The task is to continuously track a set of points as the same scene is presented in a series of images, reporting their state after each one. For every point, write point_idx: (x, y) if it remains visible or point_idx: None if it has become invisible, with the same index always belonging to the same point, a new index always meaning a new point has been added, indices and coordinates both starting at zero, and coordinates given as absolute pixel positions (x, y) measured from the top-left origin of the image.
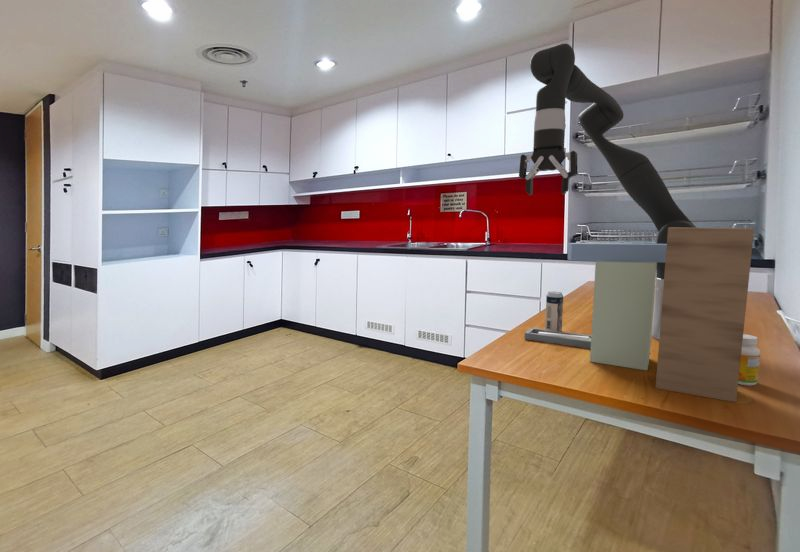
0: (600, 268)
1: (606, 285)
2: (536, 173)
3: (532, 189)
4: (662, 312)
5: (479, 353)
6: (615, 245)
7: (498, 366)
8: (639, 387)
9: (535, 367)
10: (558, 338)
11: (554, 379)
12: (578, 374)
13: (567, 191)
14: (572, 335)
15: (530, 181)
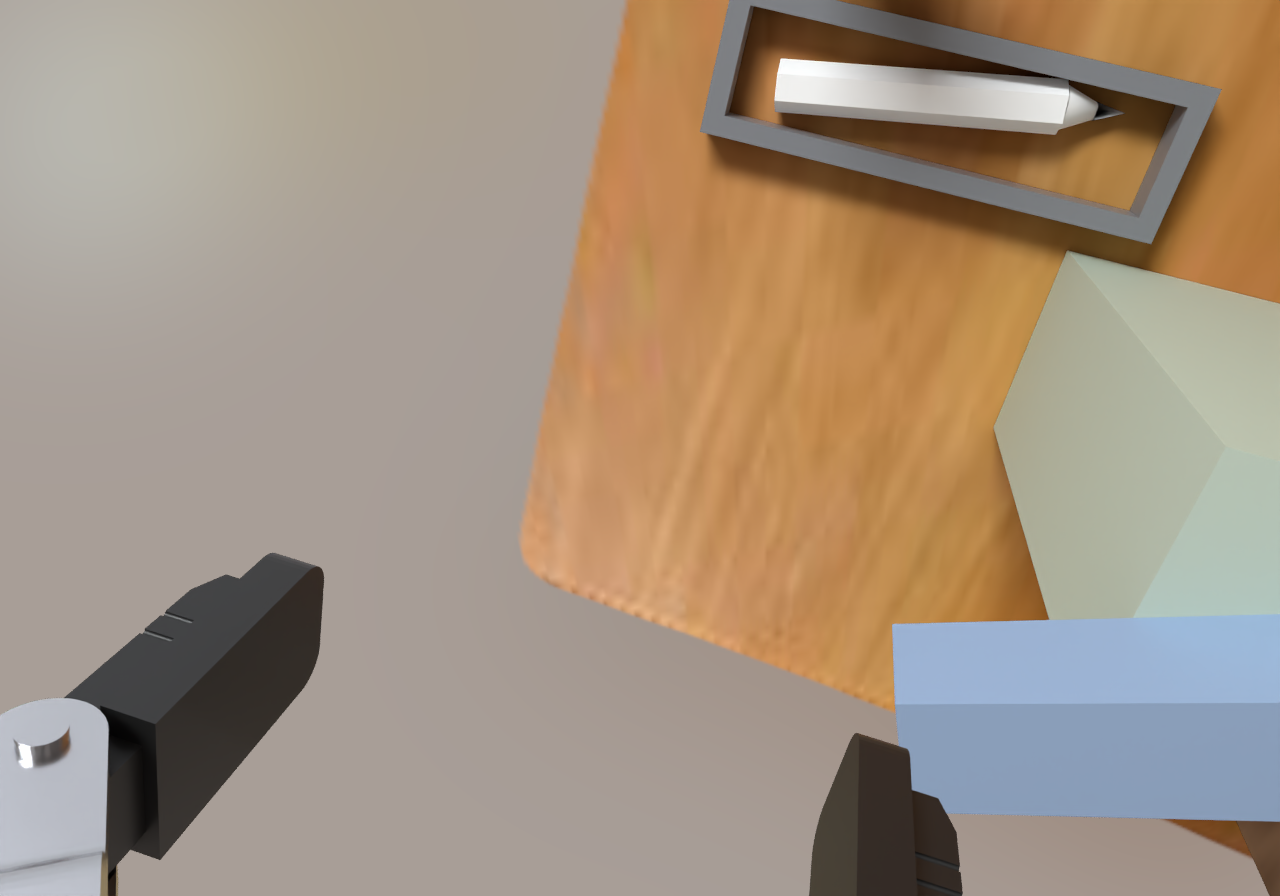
0: None
1: None
2: (105, 889)
3: (272, 623)
4: (1265, 876)
5: (540, 431)
6: (1260, 813)
7: (634, 561)
8: None
9: (764, 544)
10: (883, 175)
11: (826, 643)
12: (916, 584)
13: (932, 808)
14: (972, 98)
15: (173, 833)
